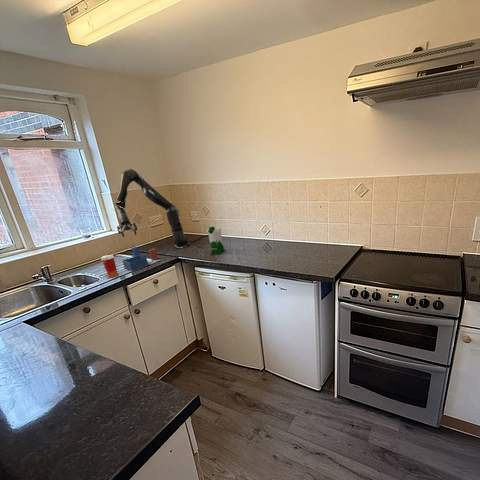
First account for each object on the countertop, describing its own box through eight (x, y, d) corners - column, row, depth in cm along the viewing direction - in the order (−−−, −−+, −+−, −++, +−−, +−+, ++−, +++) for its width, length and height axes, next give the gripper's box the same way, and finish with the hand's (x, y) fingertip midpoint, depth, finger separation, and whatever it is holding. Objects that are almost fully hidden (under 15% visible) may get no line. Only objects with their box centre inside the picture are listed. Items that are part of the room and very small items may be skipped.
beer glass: (110, 274, 203) (103, 255, 198) (121, 273, 203) (115, 253, 198) (105, 279, 196) (98, 258, 190) (116, 277, 196) (110, 257, 191)
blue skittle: (138, 256, 240) (136, 246, 237) (141, 256, 238) (138, 247, 235) (133, 257, 238) (130, 248, 235) (135, 258, 235) (132, 248, 232)
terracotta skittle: (156, 258, 229) (153, 248, 226) (158, 259, 226) (156, 249, 223) (150, 260, 226) (147, 249, 223) (153, 260, 223) (150, 250, 220)
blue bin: (141, 262, 222) (139, 255, 220) (148, 264, 214) (146, 257, 212) (124, 267, 214) (122, 260, 212) (131, 270, 206) (129, 262, 204)
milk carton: (210, 254, 222) (204, 228, 214) (217, 250, 229) (212, 225, 222) (219, 254, 218) (214, 228, 211) (226, 251, 225) (221, 225, 218)
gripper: (113, 218, 240) (119, 234, 234) (132, 215, 246) (138, 230, 241) (115, 224, 246) (120, 240, 241) (133, 220, 252) (139, 236, 247)
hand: (129, 235), depth 241 cm, fingers open, 8 cm apart
